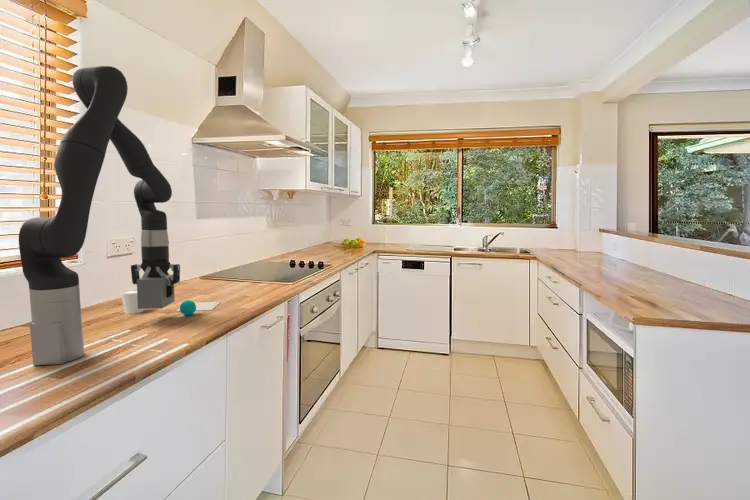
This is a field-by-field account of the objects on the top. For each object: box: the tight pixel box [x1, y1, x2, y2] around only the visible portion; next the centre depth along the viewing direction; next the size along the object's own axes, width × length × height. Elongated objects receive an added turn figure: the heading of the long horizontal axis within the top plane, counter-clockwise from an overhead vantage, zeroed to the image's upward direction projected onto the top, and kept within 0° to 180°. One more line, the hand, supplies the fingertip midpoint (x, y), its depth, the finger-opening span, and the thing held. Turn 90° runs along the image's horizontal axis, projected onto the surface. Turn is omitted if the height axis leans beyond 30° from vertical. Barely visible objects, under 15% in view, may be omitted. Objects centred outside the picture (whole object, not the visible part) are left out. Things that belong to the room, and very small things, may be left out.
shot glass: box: [121, 289, 144, 315], centre depth 141 cm, size 7×7×7 cm
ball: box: [179, 299, 196, 316], centre depth 137 cm, size 5×5×5 cm
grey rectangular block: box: [136, 274, 176, 309], centre depth 129 cm, size 11×7×9 cm, turn 7°
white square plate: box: [175, 301, 221, 312], centre depth 149 cm, size 12×12×1 cm
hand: (156, 297), depth 129 cm, fingers closed on grey rectangular block, 7 cm apart
